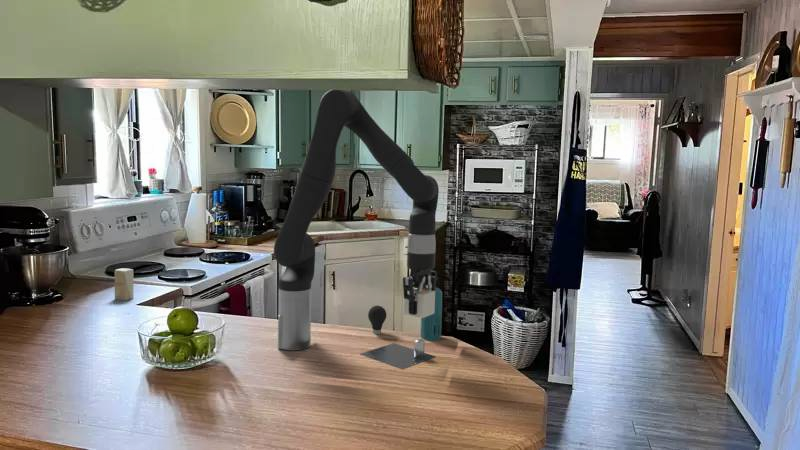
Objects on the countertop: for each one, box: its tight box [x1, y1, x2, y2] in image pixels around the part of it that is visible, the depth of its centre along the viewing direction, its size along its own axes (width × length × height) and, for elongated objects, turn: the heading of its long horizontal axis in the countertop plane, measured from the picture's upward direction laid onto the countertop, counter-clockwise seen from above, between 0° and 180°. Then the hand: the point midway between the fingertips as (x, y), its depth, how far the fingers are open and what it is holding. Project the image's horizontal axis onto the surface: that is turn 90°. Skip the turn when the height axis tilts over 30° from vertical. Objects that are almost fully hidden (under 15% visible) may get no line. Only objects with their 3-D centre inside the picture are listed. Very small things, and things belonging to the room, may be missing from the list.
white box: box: [403, 287, 435, 319], centre depth 161 cm, size 6×6×6 cm
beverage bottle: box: [420, 277, 443, 342], centre depth 180 cm, size 6×7×20 cm
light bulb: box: [367, 305, 387, 335], centre depth 184 cm, size 6×6×10 cm
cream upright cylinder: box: [114, 267, 134, 301], centre depth 220 cm, size 5×4×11 cm
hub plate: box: [359, 338, 437, 371], centre depth 164 cm, size 14×16×6 cm
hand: (419, 311), depth 162 cm, fingers closed on white box, 6 cm apart
